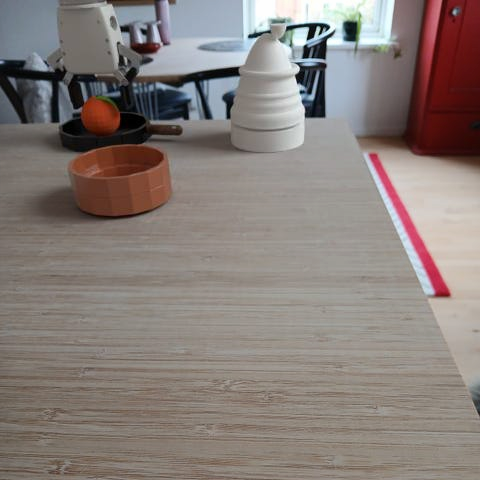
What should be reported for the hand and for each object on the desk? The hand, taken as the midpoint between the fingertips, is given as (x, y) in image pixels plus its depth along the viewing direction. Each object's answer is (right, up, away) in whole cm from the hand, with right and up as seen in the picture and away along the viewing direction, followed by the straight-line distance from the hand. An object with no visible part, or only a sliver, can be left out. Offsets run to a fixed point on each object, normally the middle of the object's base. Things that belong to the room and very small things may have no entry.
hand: (103, 107), depth 92 cm
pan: (+3, -5, +2) cm, 6 cm away
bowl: (+8, -21, -20) cm, 30 cm away
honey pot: (+29, -7, -1) cm, 30 cm away
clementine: (0, -4, +3) cm, 5 cm away
